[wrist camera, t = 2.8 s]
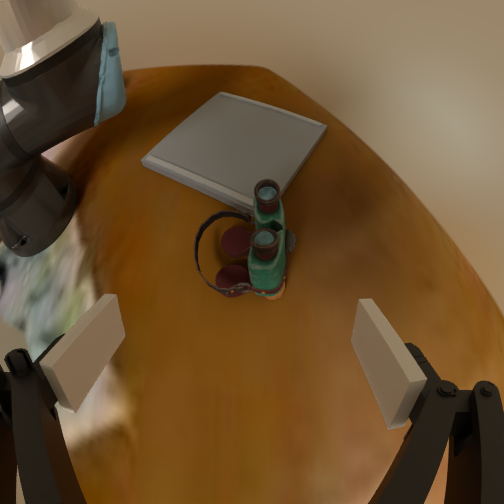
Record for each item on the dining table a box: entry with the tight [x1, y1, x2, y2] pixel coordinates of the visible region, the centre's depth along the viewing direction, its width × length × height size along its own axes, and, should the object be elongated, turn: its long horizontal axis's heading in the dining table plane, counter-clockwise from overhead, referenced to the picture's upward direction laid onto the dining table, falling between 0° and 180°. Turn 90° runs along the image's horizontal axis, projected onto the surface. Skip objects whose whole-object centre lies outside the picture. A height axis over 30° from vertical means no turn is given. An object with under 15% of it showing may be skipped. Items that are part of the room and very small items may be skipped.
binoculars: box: [194, 179, 297, 300], centre depth 27 cm, size 9×11×10 cm
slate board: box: [141, 91, 327, 217], centre depth 39 cm, size 20×20×2 cm
